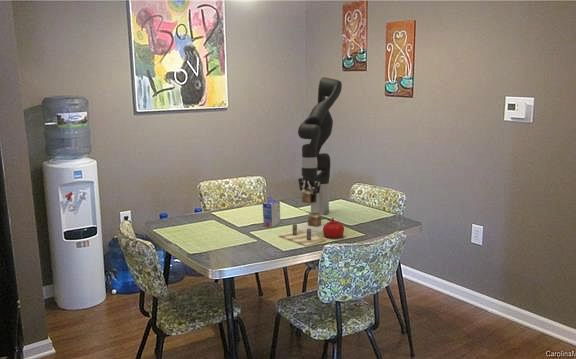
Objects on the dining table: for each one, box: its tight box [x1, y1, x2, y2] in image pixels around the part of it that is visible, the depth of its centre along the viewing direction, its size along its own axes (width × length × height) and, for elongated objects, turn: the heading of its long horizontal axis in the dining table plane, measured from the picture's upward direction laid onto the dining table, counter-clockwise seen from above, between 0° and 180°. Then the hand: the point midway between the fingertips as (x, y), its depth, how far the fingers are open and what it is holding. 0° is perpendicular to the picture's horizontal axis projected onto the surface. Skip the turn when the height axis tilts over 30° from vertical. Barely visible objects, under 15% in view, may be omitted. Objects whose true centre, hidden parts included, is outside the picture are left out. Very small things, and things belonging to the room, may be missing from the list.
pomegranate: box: [322, 217, 345, 239], centre depth 253 cm, size 10×10×9 cm
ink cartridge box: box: [262, 196, 281, 228], centre depth 274 cm, size 10×6×14 cm, turn 155°
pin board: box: [277, 223, 327, 248], centre depth 250 cm, size 20×12×6 cm, turn 40°
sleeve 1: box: [301, 188, 317, 205], centre depth 259 cm, size 5×5×6 cm
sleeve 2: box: [307, 211, 323, 227], centre depth 272 cm, size 5×5×6 cm
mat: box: [297, 222, 325, 235], centre depth 268 cm, size 16×14×1 cm
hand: (309, 200), depth 259 cm, fingers closed on sleeve 1, 5 cm apart
